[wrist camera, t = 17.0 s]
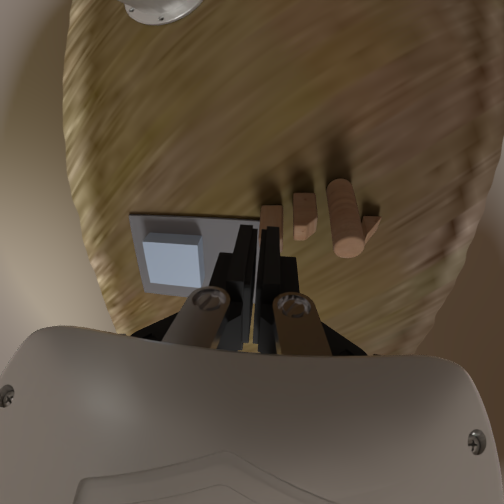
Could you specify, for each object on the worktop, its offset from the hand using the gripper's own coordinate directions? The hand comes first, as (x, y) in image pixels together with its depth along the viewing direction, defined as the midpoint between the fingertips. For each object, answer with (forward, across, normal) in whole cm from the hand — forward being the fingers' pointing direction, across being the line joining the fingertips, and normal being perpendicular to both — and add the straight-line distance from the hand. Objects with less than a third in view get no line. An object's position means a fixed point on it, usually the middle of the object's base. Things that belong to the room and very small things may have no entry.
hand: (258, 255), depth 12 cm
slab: (+25, +10, +18) cm, 32 cm away
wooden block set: (+28, -8, +8) cm, 30 cm away
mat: (+27, +11, +19) cm, 35 cm away
